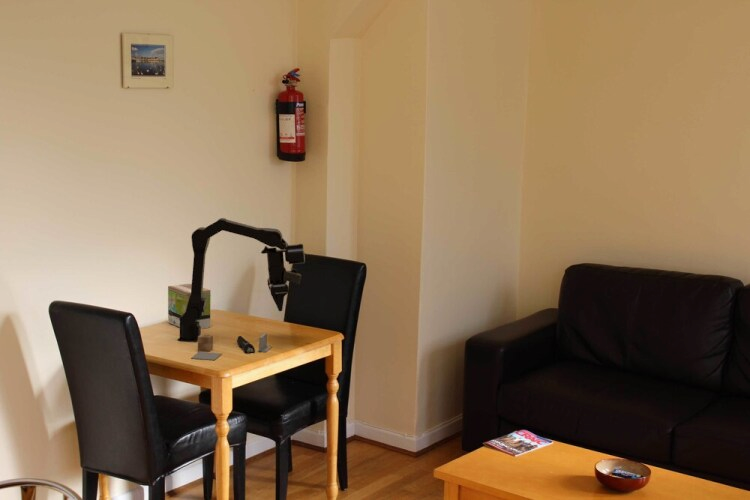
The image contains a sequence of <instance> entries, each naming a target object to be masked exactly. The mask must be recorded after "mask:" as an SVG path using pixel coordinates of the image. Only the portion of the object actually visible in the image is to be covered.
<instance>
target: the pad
mask: <svg viewBox="0 0 750 500" xmlns="http://www.w3.org/2000/svg"><path fill="white" fill-rule="evenodd" d="M222 355H223V353H219V352H201V351H197V353H195V354H194V355H193V356H191V357H190V359H191V360H200V361H201V360H204V361H216V360H217V359H219V358H220V357H222Z"/></svg>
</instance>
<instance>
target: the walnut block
mask: <svg viewBox="0 0 750 500" xmlns="http://www.w3.org/2000/svg"><path fill="white" fill-rule="evenodd" d="M213 350H214V334H203V333H201V335H200V336H198V340H197V352H207V353H211V351H213Z"/></svg>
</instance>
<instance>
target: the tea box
mask: <svg viewBox="0 0 750 500" xmlns="http://www.w3.org/2000/svg"><path fill="white" fill-rule="evenodd" d="M191 286H192V283H183V284H177V285H176V284H175V285H168V286H167V319H168V320H167V321H168V322H167V323H168V324H171V325H173V326H175V327H178V328H180V320H179V319H180V317H181V316H182V315H183V314H184V313H185V312H186V308H187V304H188V301H189V298H190V295H191ZM211 292H212V291H211V289H208V288H205V287H203V297H204V298H207V302H206V307H207V309H206V310H205V312H204V313H203V314H202V316H201V317H200V318H199V319H198V320H197V321H199V326H201V330H203V329H209V328H211V295H212V294H211Z"/></svg>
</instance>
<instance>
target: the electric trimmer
mask: <svg viewBox="0 0 750 500" xmlns="http://www.w3.org/2000/svg"><path fill="white" fill-rule="evenodd" d="M236 342H237V345H238V347H239V348H242V349H243V352H244V354H247V355H248V354H251V353H253V354H255V353H256V348H255V347H254V345H253V344H251V342H249V340H246V339H245V338H244V337H243V336H242V335H239V336H237V339H236Z"/></svg>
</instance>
